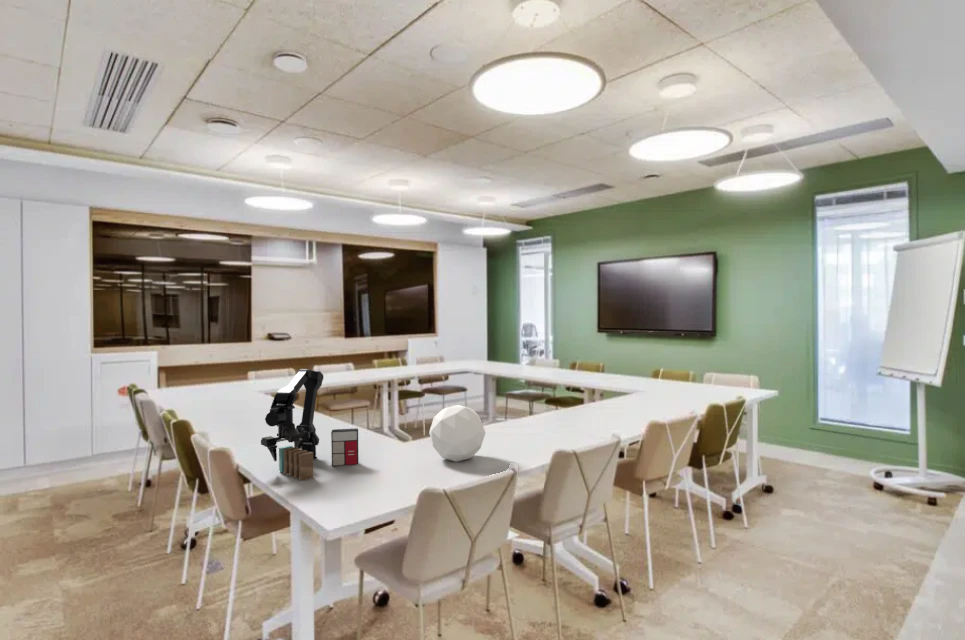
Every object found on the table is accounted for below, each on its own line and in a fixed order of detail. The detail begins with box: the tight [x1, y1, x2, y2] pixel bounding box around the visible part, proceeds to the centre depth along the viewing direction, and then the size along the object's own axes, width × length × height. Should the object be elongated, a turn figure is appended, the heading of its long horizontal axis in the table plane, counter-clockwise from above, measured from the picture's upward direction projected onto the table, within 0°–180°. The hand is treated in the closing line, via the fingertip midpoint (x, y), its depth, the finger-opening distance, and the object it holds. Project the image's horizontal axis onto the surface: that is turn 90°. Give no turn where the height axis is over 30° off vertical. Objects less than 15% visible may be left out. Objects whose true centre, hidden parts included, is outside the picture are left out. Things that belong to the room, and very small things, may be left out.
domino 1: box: [278, 445, 294, 473], centre depth 218 cm, size 2×5×10 cm, turn 138°
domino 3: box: [288, 449, 303, 477], centre depth 213 cm, size 2×5×10 cm, turn 138°
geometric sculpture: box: [428, 404, 486, 463], centre depth 233 cm, size 24×25×25 cm
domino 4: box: [293, 450, 308, 479], centre depth 210 cm, size 2×5×10 cm, turn 138°
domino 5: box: [298, 452, 314, 481], centre depth 208 cm, size 2×5×10 cm, turn 138°
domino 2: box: [283, 446, 298, 475], centre depth 216 cm, size 2×5×10 cm, turn 138°
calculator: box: [330, 427, 360, 467], centre depth 226 cm, size 11×4×15 cm, turn 101°
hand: (286, 458), depth 218 cm, fingers open, 9 cm apart
